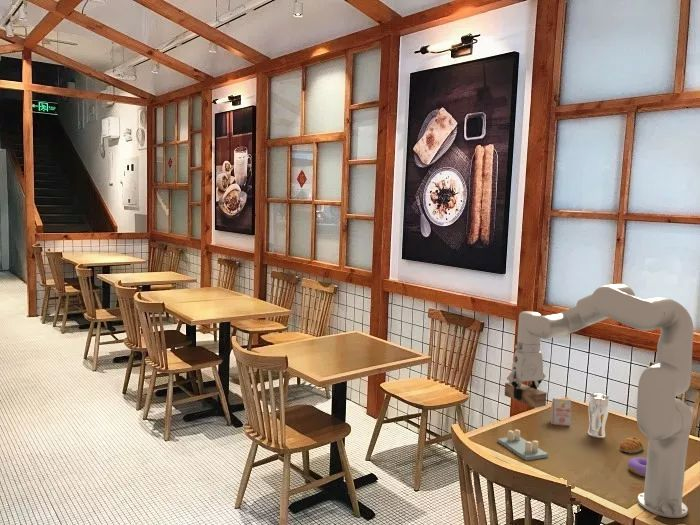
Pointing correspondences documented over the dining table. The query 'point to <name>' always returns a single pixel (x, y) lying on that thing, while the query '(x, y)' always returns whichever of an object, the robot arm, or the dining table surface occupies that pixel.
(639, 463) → the donut
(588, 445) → the dining table surface
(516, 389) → the robot arm
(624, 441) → the pastry
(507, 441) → the peg board
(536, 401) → the plank
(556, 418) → the white printed box
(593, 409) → the beer glass
